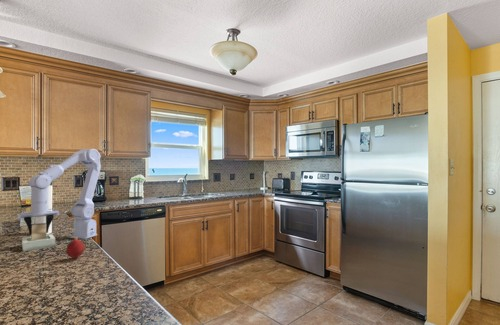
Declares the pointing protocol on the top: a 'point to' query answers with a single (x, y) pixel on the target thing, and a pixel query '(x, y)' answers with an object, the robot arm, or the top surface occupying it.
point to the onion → (75, 248)
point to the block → (38, 231)
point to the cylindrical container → (49, 208)
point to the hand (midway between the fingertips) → (38, 233)
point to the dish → (38, 243)
